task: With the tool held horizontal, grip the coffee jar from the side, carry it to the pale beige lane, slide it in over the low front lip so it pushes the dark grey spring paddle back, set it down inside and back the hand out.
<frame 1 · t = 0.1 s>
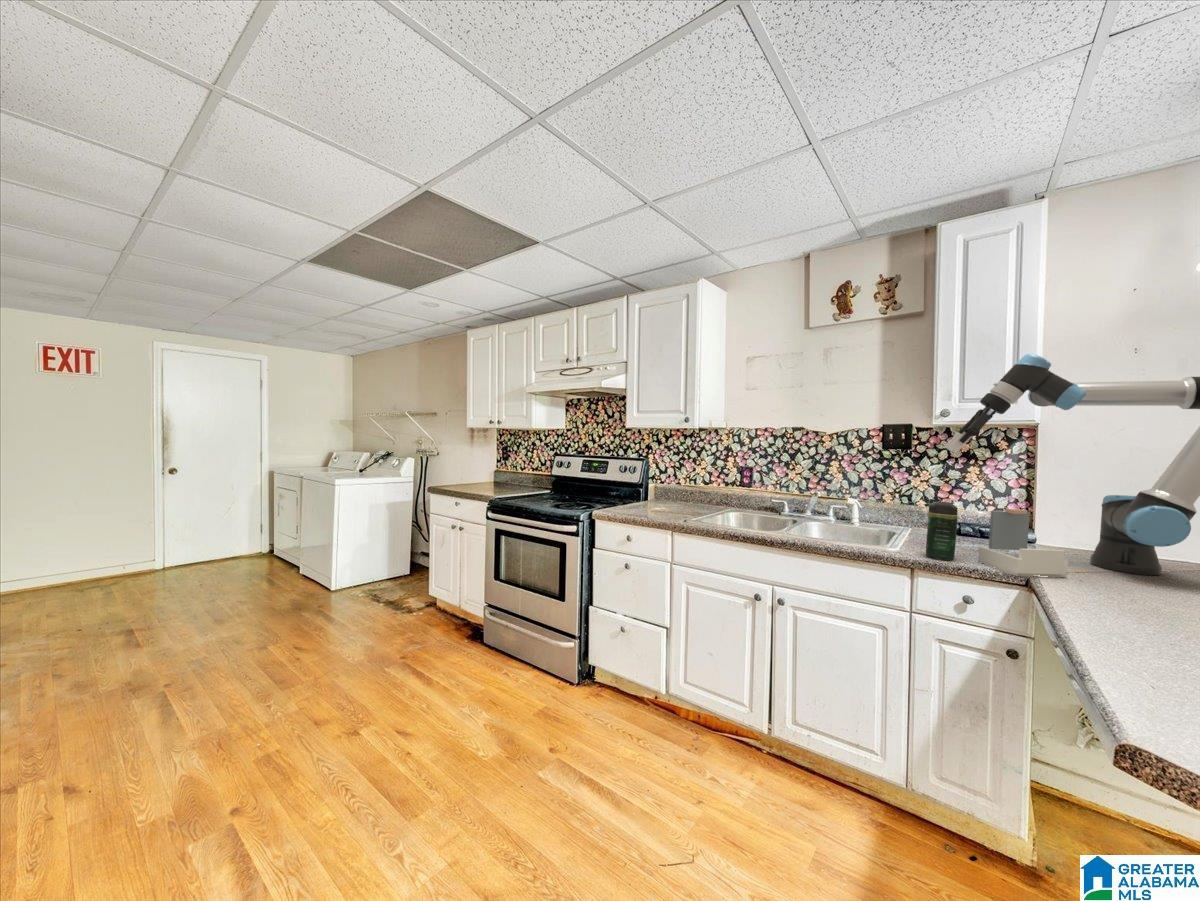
hand: (949, 449, 161), 36 cm above the counter, tool tilted 35°, fingers open, 13 cm apart
coffee jar: (939, 557, 157), on the counter
lane: (1020, 569, 145), on the counter
pusher: (1013, 530, 148), point 12 cm above the counter, slide at 0.0 cm
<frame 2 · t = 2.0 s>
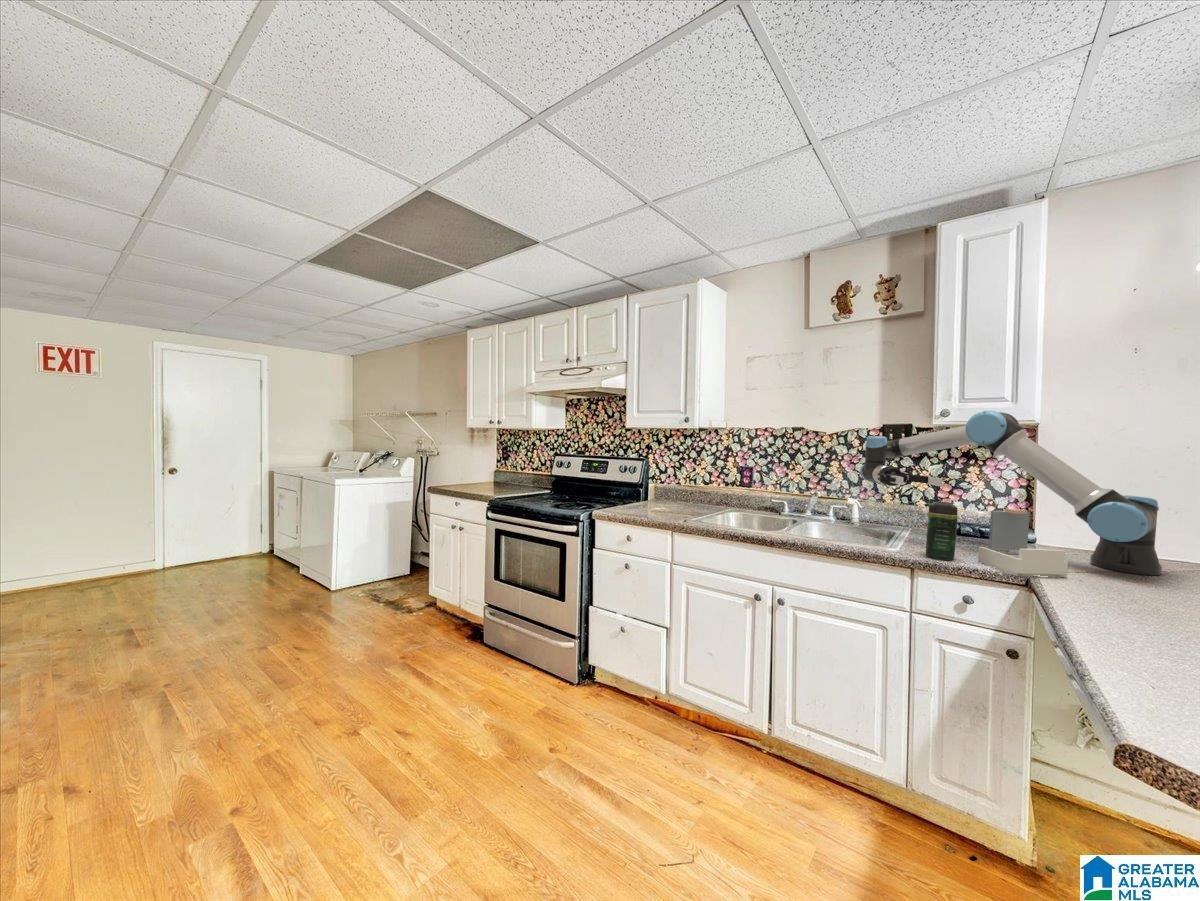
hand: (921, 481, 168), 24 cm above the counter, tool horizontal, fingers open, 13 cm apart
nothing on the counter moved.
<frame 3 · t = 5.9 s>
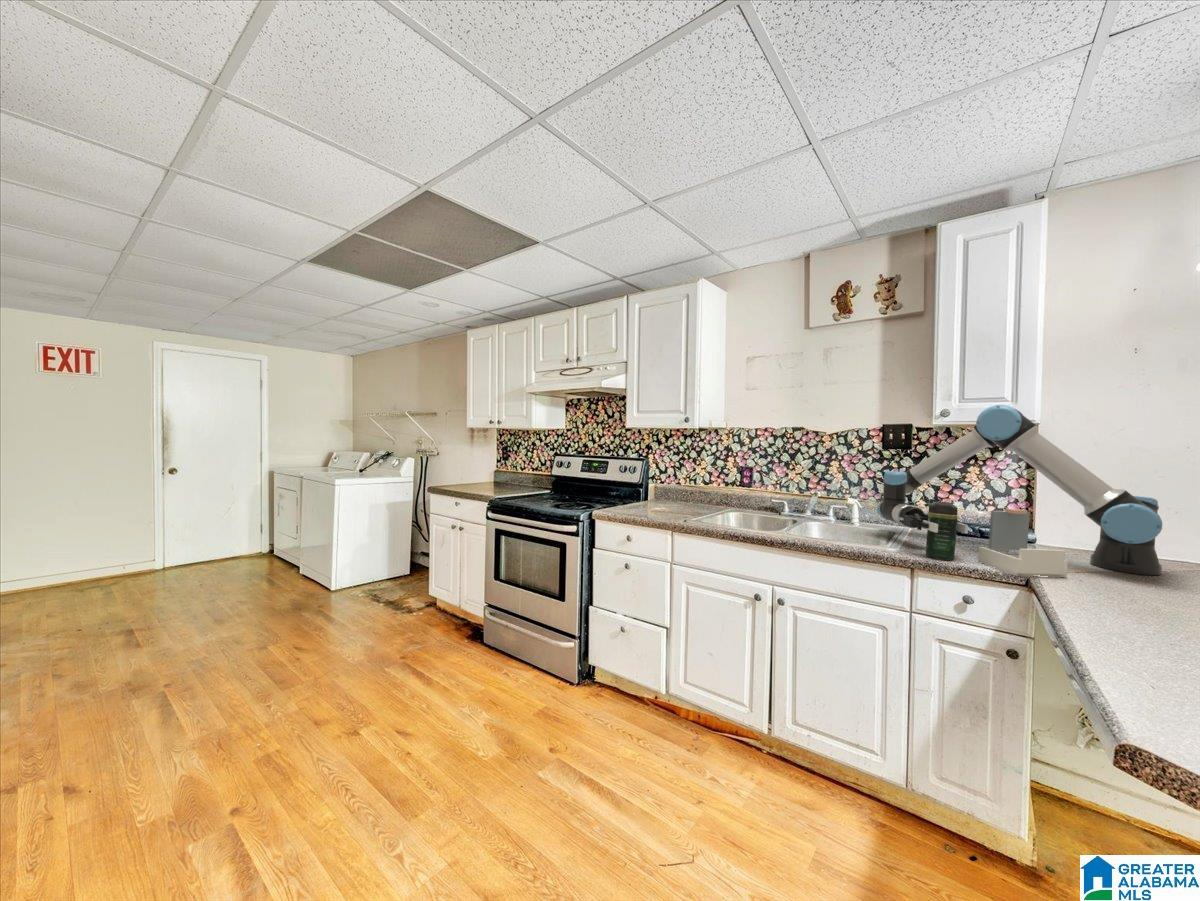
hand: (951, 528, 152), 10 cm above the counter, tool horizontal, fingers closed on coffee jar, 9 cm apart
coffee jar: (939, 557, 157), on the counter, touching gripper
everything else where it was.
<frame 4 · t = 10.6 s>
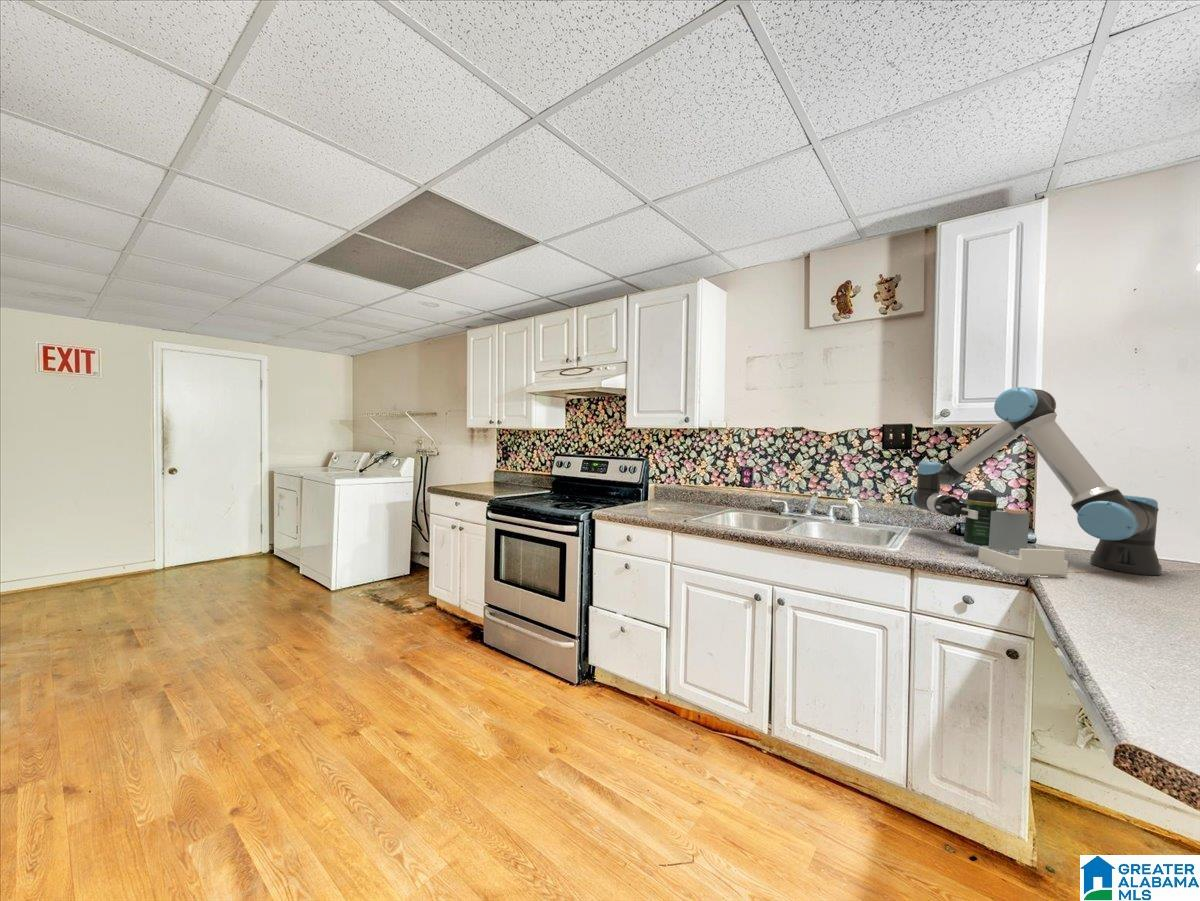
hand: (991, 515, 156), 14 cm above the counter, tool horizontal, fingers closed on coffee jar, 8 cm apart
coffee jar: (978, 544, 162), point 4 cm above the counter, touching gripper
everything else where it was.
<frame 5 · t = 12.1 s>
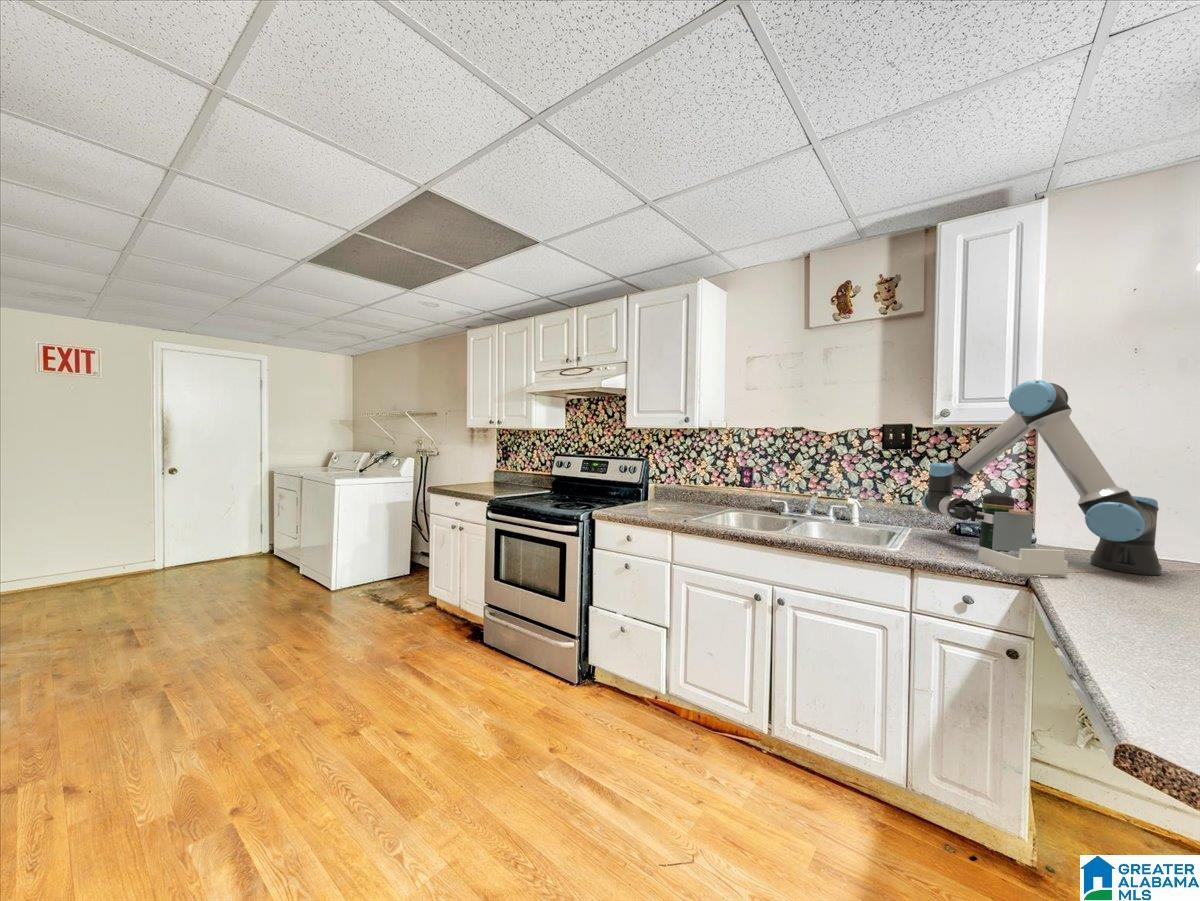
hand: (1008, 520, 149), 14 cm above the counter, tool horizontal, fingers closed on coffee jar, 8 cm apart
coffee jar: (994, 549, 154), point 4 cm above the counter, touching gripper
pusher: (1016, 531, 146), point 12 cm above the counter, slide at 1.4 cm, touching gripper
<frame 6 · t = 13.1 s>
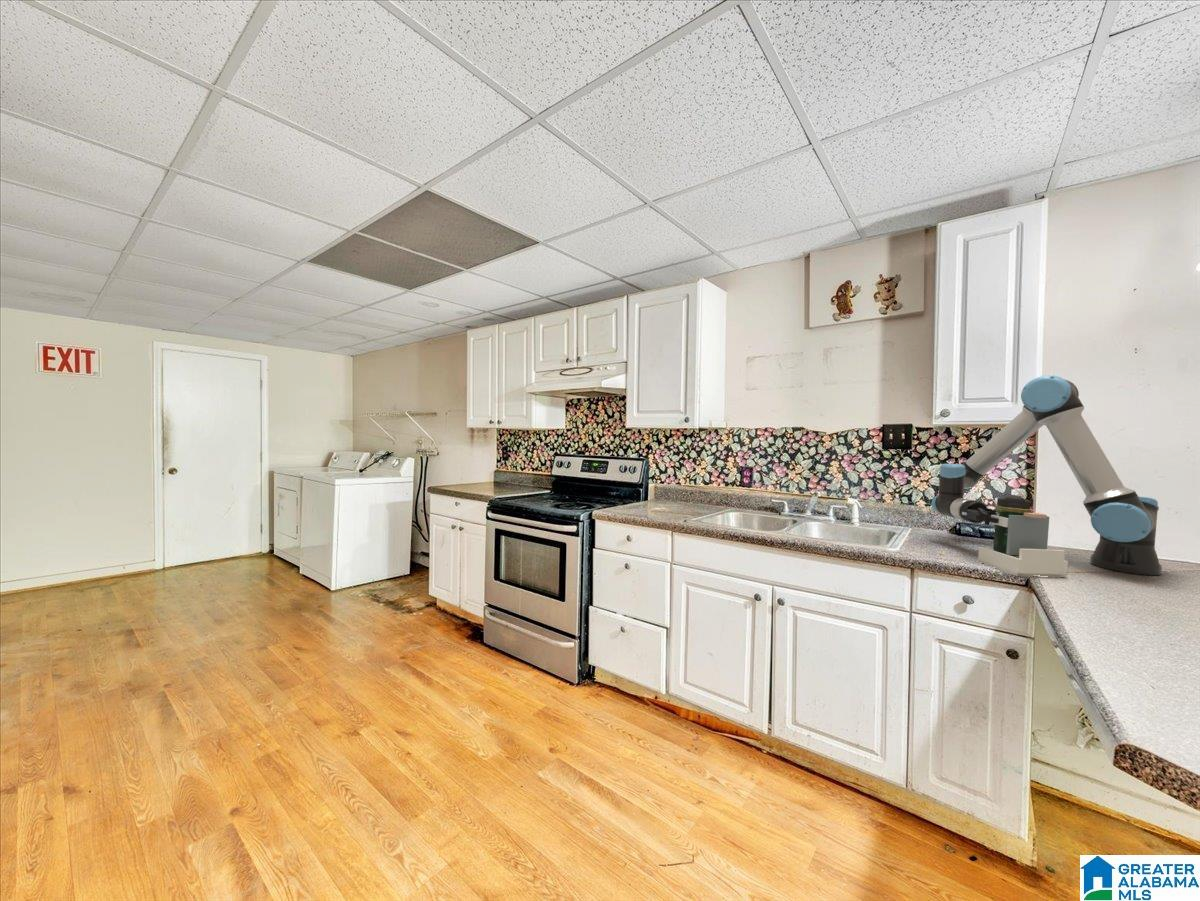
hand: (1024, 523, 143), 14 cm above the counter, tool horizontal, fingers closed on coffee jar, 8 cm apart
coffee jar: (1009, 554, 148), point 4 cm above the counter, touching gripper
pusher: (1032, 534, 141), point 12 cm above the counter, slide at 6.8 cm, touching gripper
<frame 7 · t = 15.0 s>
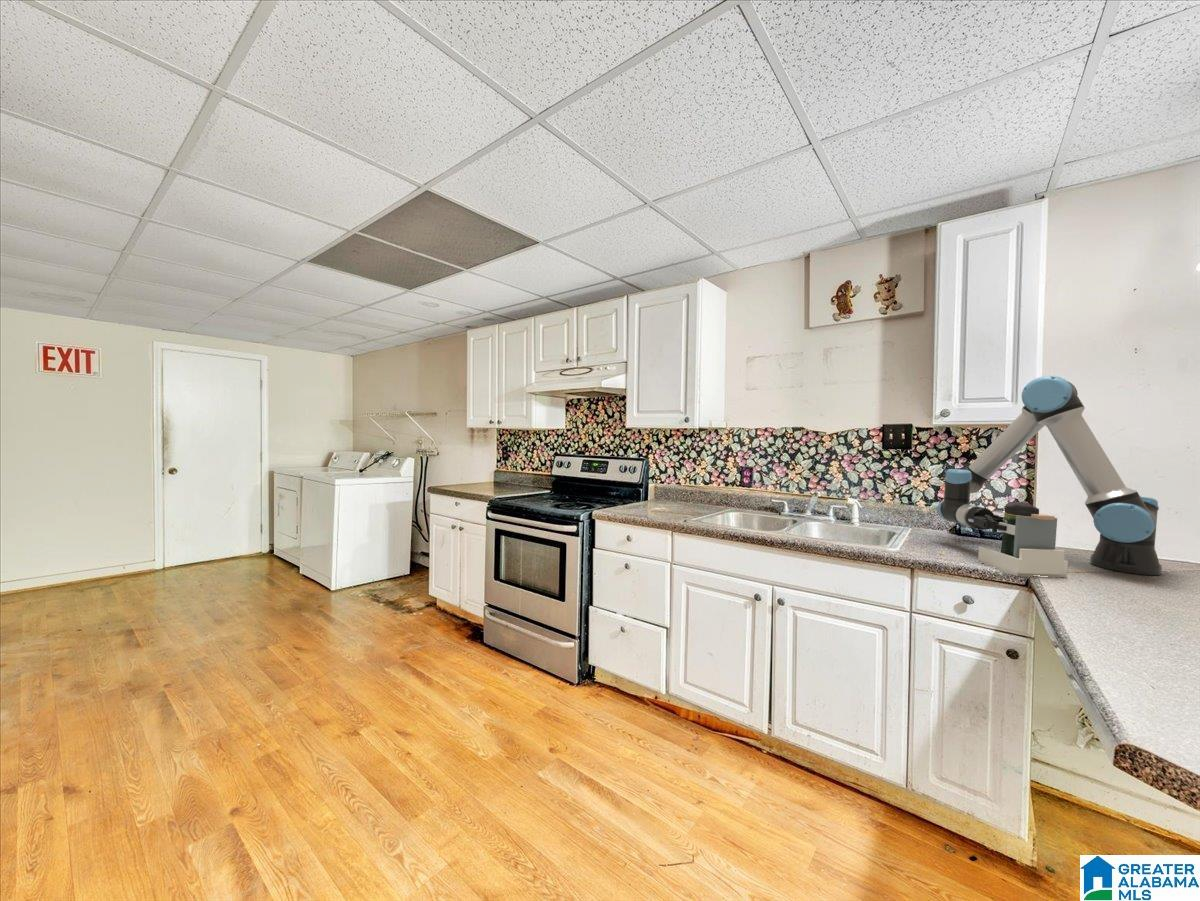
hand: (1033, 531, 141), 13 cm above the counter, tool horizontal, fingers closed on coffee jar, pusher, 8 cm apart
coffee jar: (1017, 562, 146), point 2 cm above the counter, touching gripper
pusher: (1039, 536, 138), point 12 cm above the counter, slide at 9.4 cm, touching gripper
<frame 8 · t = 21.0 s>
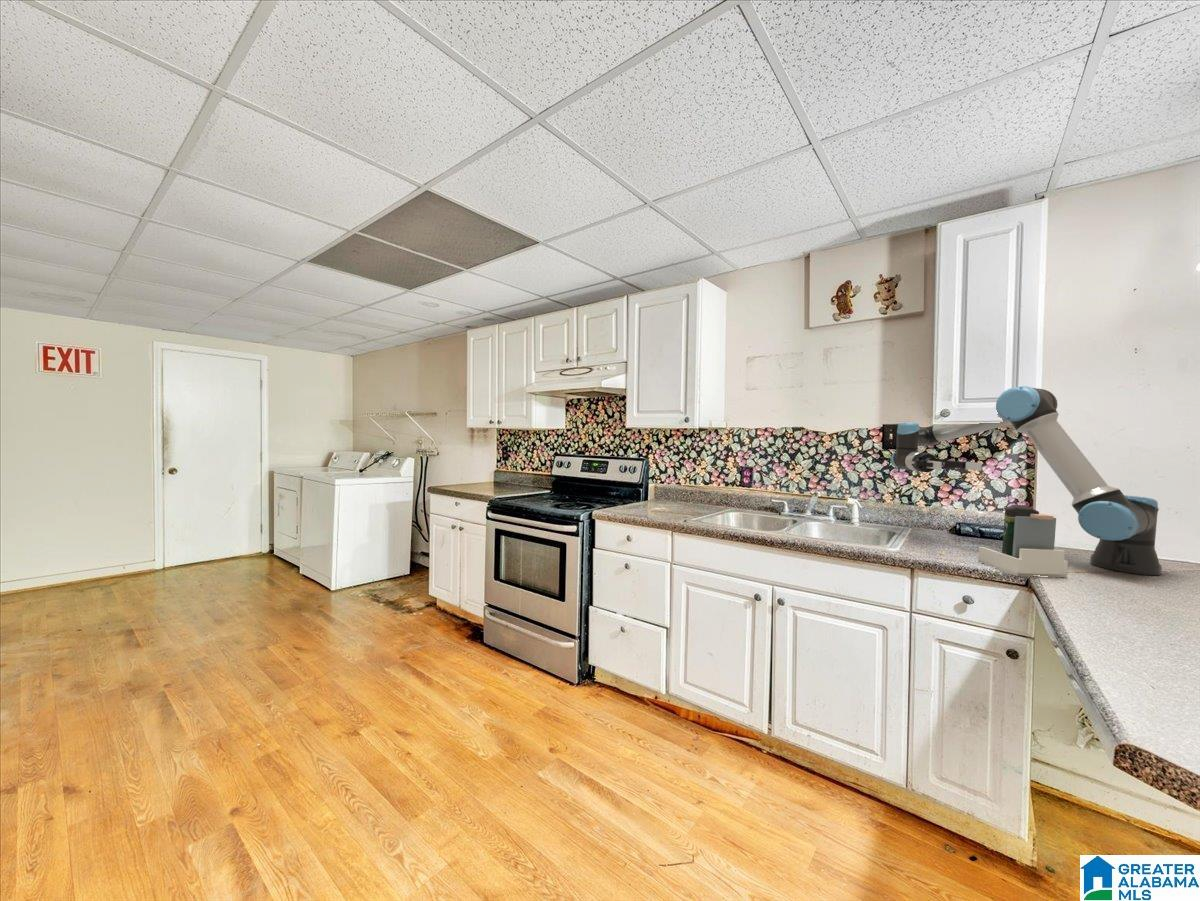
hand: (960, 466, 164), 30 cm above the counter, tool horizontal, fingers open, 13 cm apart
coffee jar: (1018, 565, 146), point 1 cm above the counter, touching lane, pusher
pusher: (1038, 536, 139), point 12 cm above the counter, slide at 9.1 cm, touching coffee jar
at the end: coffee jar inside the target area (0.4 cm from its centre), point 0.9 cm above the counter; coffee jar tilted 1°; pusher slide at 9.1 cm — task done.
